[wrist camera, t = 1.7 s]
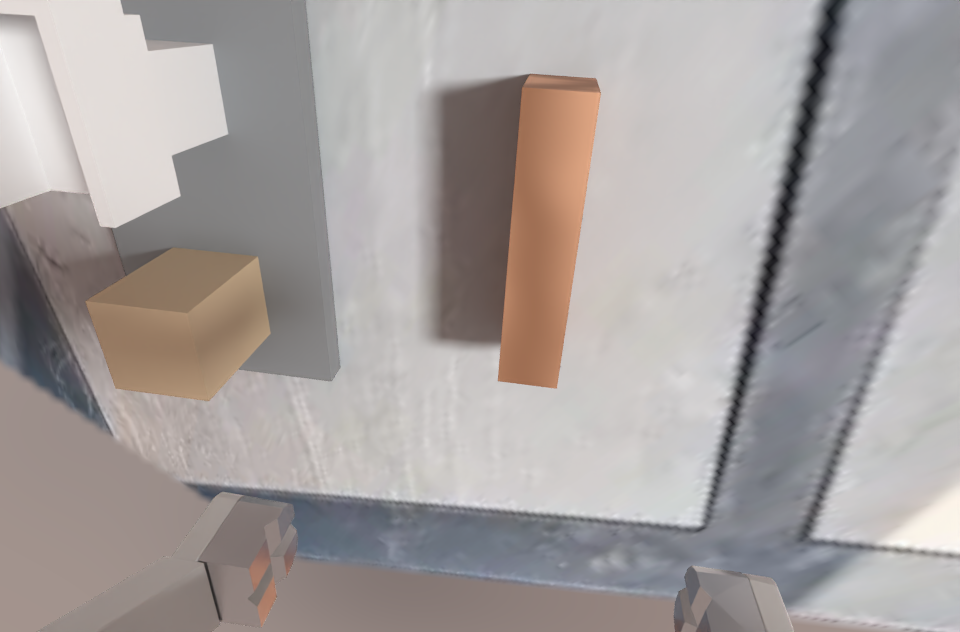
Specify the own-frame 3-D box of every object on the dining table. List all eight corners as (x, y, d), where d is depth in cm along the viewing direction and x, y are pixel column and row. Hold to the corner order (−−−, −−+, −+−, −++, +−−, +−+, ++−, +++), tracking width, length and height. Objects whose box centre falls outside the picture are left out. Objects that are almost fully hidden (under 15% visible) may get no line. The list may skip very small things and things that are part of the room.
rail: (595, 78, 25) (600, 93, 21) (558, 337, 32) (556, 388, 28) (530, 73, 26) (522, 87, 21) (507, 331, 32) (497, 380, 28)
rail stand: (301, -41, 24) (130, -70, 15) (340, 367, 35) (255, 500, 26) (53, -53, 26) (-251, -87, 16) (165, 345, 36) (23, 465, 27)
